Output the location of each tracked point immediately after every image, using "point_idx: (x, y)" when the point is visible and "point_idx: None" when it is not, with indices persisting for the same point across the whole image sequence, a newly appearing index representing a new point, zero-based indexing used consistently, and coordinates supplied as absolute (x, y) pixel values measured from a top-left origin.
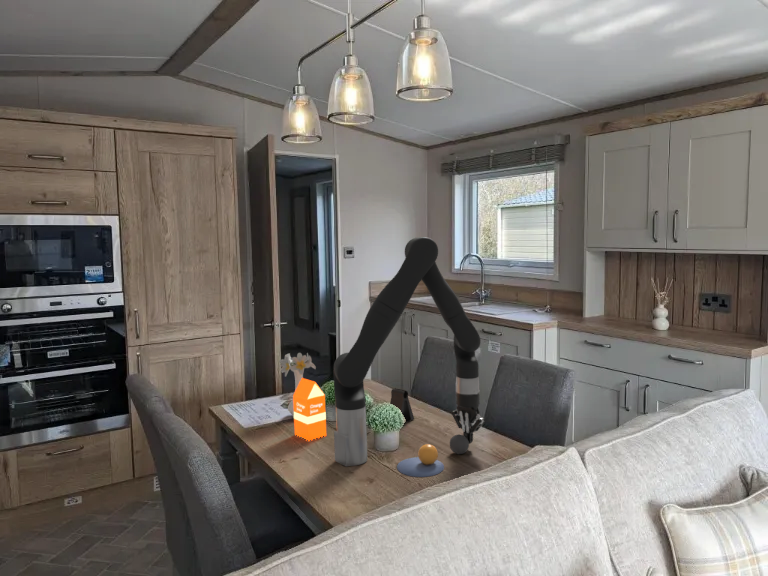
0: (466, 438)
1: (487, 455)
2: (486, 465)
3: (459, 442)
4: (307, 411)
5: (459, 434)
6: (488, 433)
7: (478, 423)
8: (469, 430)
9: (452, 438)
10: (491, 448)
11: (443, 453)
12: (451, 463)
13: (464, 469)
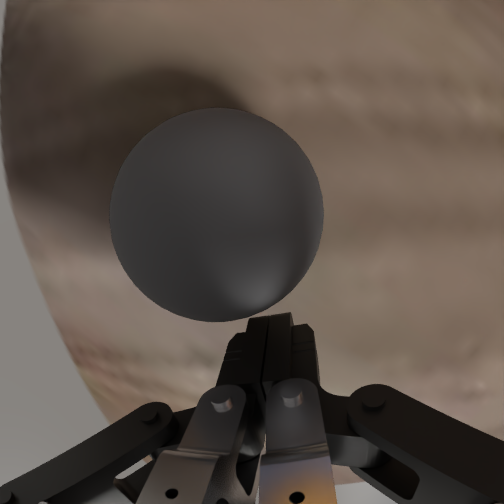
0: (157, 303)
1: (126, 332)
2: (22, 237)
3: (119, 177)
4: None
5: (221, 277)
6: None
7: (20, 481)
8: (198, 417)
9: (221, 140)
10: None
11: (305, 83)
12: (110, 52)
13: (21, 97)
